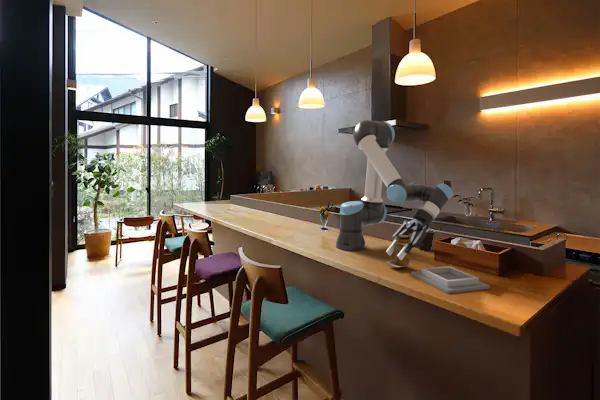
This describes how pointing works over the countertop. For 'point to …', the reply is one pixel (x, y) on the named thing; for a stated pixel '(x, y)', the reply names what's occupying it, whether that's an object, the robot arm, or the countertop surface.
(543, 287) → the countertop surface
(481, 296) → the countertop surface
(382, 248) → the countertop surface
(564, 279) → the countertop surface
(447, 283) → the tray
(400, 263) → the condiment
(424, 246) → the coffee mug
